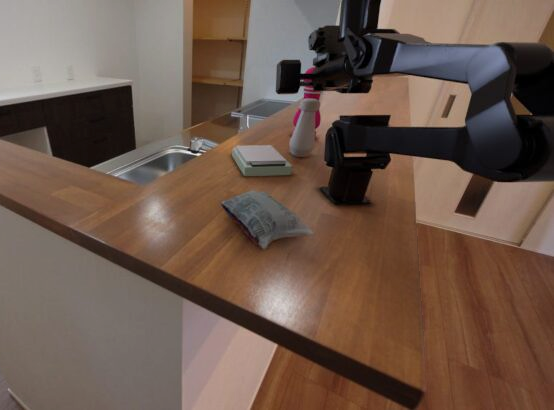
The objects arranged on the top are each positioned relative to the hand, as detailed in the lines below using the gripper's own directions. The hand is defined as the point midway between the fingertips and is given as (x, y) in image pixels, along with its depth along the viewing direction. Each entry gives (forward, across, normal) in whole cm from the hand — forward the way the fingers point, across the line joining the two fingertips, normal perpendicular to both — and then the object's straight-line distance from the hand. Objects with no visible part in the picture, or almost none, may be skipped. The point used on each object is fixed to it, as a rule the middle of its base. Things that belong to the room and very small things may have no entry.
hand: (304, 83), depth 69 cm
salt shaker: (+2, -1, +16) cm, 16 cm away
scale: (-4, +11, +18) cm, 21 cm away
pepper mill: (+15, -8, +12) cm, 21 cm away
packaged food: (-28, +18, +25) cm, 42 cm away
